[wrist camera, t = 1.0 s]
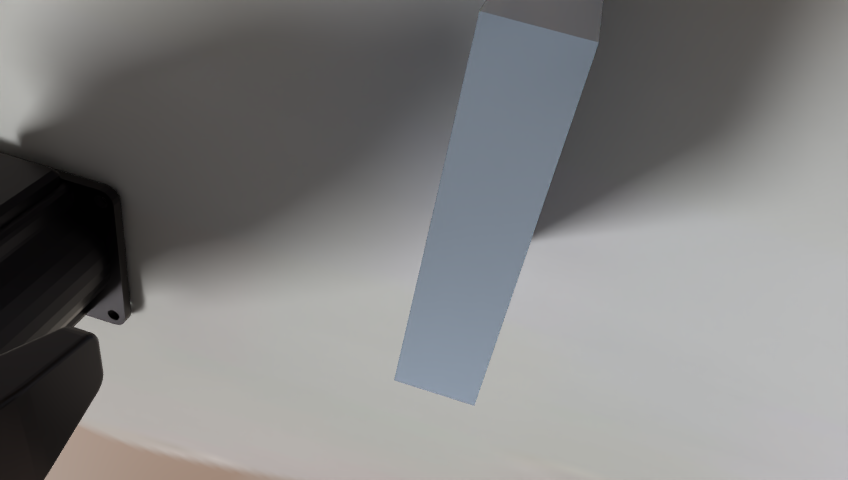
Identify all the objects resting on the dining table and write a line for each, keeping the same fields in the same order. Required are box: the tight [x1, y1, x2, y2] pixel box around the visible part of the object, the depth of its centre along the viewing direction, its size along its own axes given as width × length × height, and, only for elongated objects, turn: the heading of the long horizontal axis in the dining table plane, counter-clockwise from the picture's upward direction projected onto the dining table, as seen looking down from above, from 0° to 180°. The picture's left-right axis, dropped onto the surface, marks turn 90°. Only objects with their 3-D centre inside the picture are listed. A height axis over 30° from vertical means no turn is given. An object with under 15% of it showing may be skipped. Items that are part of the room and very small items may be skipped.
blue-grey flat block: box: [394, 0, 603, 405], centre depth 17 cm, size 9×2×7 cm, turn 170°
